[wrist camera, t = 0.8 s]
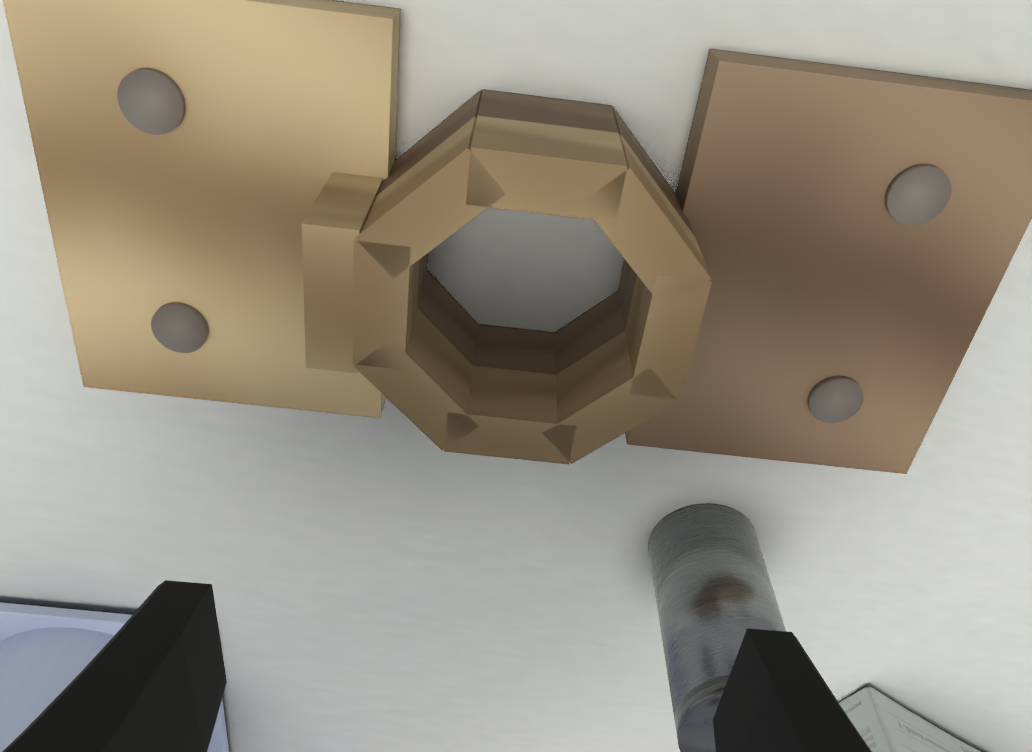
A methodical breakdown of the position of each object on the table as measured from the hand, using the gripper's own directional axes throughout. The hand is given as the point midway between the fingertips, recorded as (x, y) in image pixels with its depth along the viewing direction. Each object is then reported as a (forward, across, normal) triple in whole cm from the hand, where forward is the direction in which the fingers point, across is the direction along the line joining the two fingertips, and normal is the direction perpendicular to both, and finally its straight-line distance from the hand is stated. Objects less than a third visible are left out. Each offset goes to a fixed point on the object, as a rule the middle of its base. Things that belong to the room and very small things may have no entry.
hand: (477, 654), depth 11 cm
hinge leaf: (+10, +3, -2) cm, 10 cm away
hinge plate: (+10, -4, -2) cm, 10 cm away
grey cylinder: (+10, -6, +7) cm, 13 cm away
